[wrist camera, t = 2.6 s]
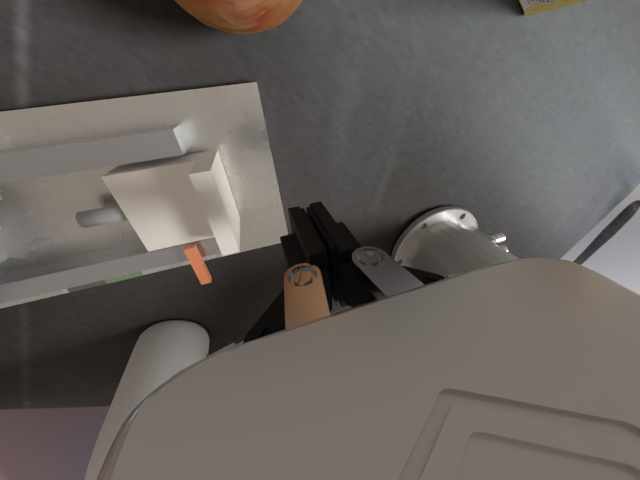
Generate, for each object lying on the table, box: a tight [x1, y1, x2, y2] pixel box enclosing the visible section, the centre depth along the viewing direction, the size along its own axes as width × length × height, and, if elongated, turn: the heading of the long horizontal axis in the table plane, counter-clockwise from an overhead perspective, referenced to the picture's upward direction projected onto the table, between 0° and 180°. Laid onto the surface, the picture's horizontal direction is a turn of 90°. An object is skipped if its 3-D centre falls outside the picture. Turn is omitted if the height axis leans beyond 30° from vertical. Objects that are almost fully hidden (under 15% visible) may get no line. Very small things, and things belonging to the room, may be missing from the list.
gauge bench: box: [0, 82, 288, 309], centre depth 16 cm, size 28×14×10 cm, turn 96°
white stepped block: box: [75, 150, 240, 285], centre depth 18 cm, size 10×10×6 cm
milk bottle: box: [85, 320, 209, 480], centre depth 21 cm, size 8×8×20 cm
